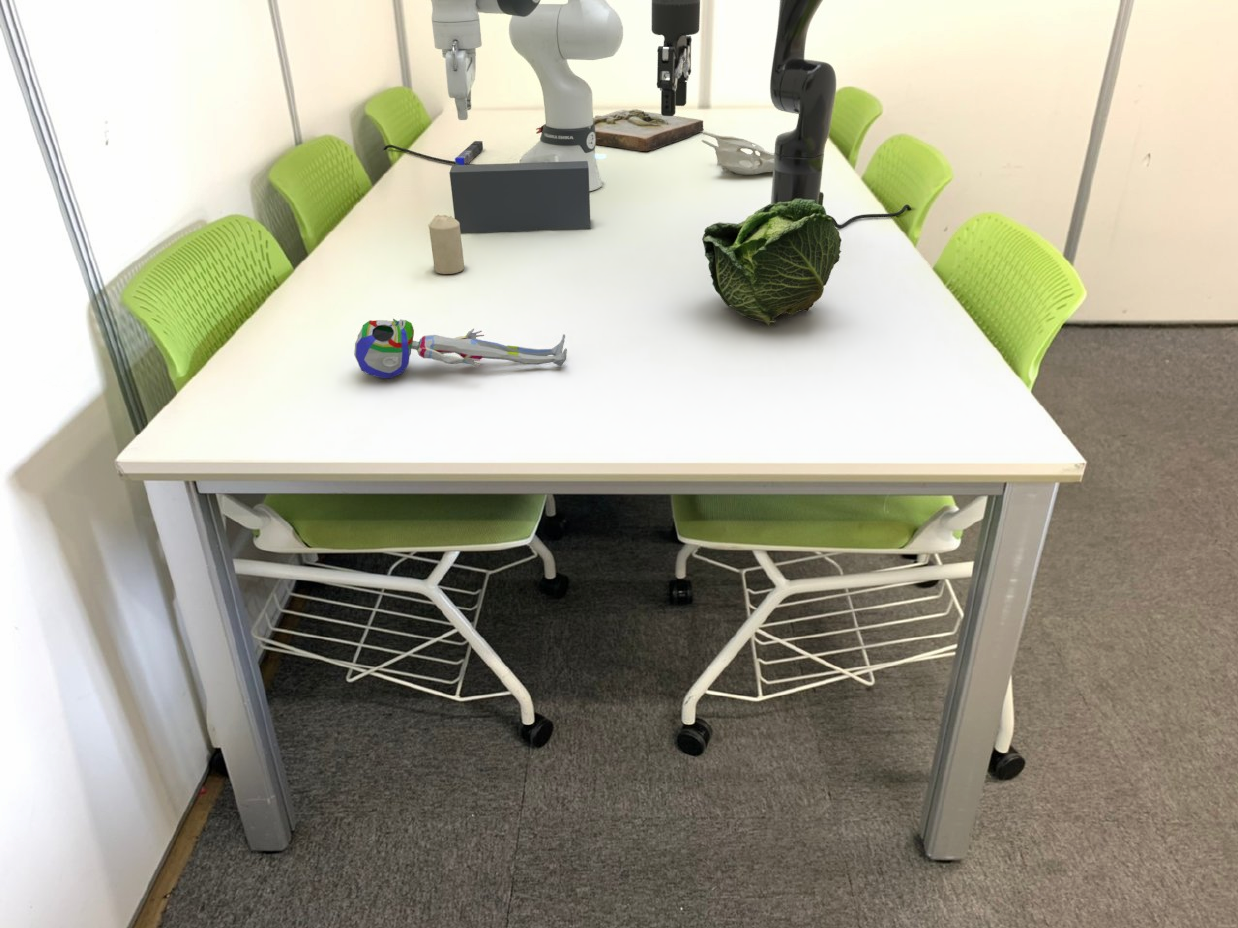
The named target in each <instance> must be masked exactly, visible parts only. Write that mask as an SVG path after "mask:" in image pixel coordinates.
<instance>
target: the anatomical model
mask: <svg viewBox="0 0 1238 928" xmlns="http://www.w3.org/2000/svg"><path fill="white" fill-rule="evenodd" d="M702 135H704V136H708V137H711V138H714V139H715V140H716V142H717V145H715V144H713V143H712V142H709V141H708V140H705V139H701V142H702V143H703V144H706V145H708V146H709V147H711V148H713V149H714V152H715V155H716V160H717V164H716V165H717V166H721V167H722V170H724V171H727V172H729V171H730V172H733V173H735V174H736V175H744V176H747V175H750V176H751V175H752V176H753V175H759V174H763V173H773V165H774V152H770V151H766V149H764V148H763V147H762V146H761V145H759V144H757V143H755V142H752V141H749V140H748V139H744V138H739V137H736V136H730V135H729V136H727V135H726V136H725V135H719V134H715V133H711V132H707V131H702ZM743 149H747V150H751V151H752V152H751V153H748V152H747V153H746V152H745V151H743ZM756 152H758V153H759V155H758V154H756Z"/></svg>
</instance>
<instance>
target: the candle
mask: <svg viewBox="0 0 1238 928" xmlns="http://www.w3.org/2000/svg"><path fill="white" fill-rule="evenodd" d="M428 230H429V231H428V232H429V237H430V247H431V252H432V262H433V269H434V271H435V272H436V273H438V274H442V275H451V274H457V273H460V272H462V271H463V270H464V269H465V260H464V253H463V252H464V251H463V243H462V233H460V224H459V222H458V221H457V220H456V219H455V217H454V216H451V215H450V216H449V215H444V214H436V215H435V216H434V217H433V218H432V220H431V221H430V222H429V224H428Z"/></svg>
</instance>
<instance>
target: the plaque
mask: <svg viewBox="0 0 1238 928" xmlns="http://www.w3.org/2000/svg"><path fill="white" fill-rule="evenodd" d="M593 123H594V124H595V133H596V144H595V145H597V146H598V145H599V146H607V147H612V148H620V149H625V150H632V151H640V152H648V151H654V150H656V149H659V148H662V147H663V146H664V147H665V146H667V145H670V144H672V143H676V142H680V141H682V140H684V139H687V138H691V137H692V136H694V135H696V134H698V133H700V132H705V131H704V130H705V129H704V120H702V119H698V118H693V117H685V116H679V115H673V116H663V115H662V114H661V113H659V112H650V111H644V110H642V109H637V108H636V109H635V108H634V109H630V110H629V109H620V110H616V111H613V112H610V113H608V114H602V115H594V117H593Z"/></svg>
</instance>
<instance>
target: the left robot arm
mask: <svg viewBox="0 0 1238 928" xmlns="http://www.w3.org/2000/svg"><path fill="white" fill-rule="evenodd" d="M430 1H431V7H432V10H431V11H432V12H431V26H432V35H433V36H432V37H433V43H434V48H435V49H438V50H441V56H442V58H444V59H445V60H444V63H445V74H446V85H447V86H446V87H447V94H448V97H449V98H450V99H454V104H455V108H456V112H457V119H458V120H459V121H467V120H468V117H469V114H468V111H471V109H472V107H473V106H472V88H473V85H474V83H475V80H476V72H477V71H476V68H477V67H476V63H477V61H476V59H477V58H476V57H477V52H476V50H477V48H480V47H482V45H483V44H482V33H481V23H480V15H479V13H481V14H495V15H497V14H500V15H508V16H511V18H510V21H509V25H508V36H509V40H510V44H511V46H512V47H513V49H514V50H515V51H516V53H517V54H518V55H520V56H521V57H522V58H523V59H524V60H525V61H526V62H527V63H528V64H529V66H530V67H531V68H532V70H533V71H534V73H535V75H536V77H537V80H538V81H539V84H540V88H541V91H542V98H543V107H544V118H545V119H544V120H545V121H544V122H545V123H544V124H543V125H541V126H540V127H537V128H535V130H536V132H535V133H536V134H540V138H539V141H538V142H536V143H535V144H534V145H533V146H532V147H530V149H529V150H527V151H526V152H525V153H524V154H523V155H522V156H521V157H520V158H519V163H540V162H571V161H588V167H589V192H592V191H595V190H598V189H600V188H601V187H602V186H603V183H602V180H601V178H600V177H601V176H600V173H599V168H598V163H597V159H600V160H601V159H602V160H604V159H606V154H600V153H596V145H597V144H596V133H595V124H594V123H593V118H594V102H593V101H594V100H593V99H594V98H593V90H592V88H591V86H590V85H589V83H588V82H587V81H586V80H585V79H583V78H582V77H580V76H579V75H576V74H575V73H574V72H573V70H572V69H571V68H570V65H569V62H568V60H575V61H577V60H578V61H596V60H597V61H598V60H601V59H607V58H611V57H614V56H615V55H616V54H617V52H618V51H619V49H620V48H621V46H622V43H623V39H624V25H623V22H622V18H621V17H620V15H619V14H618V12H617V11H616V10H615V9H614V8H613V7H612V6H611V5H610V4H609V2H607V0H567V3H540V2H541V0H430ZM388 149H395V150H398V151H401V152H405V153H409V154H411V155H414V156H417V157H421V158H424V159H428V160H432V161H436V162H440V163H445V164H450V165H455V160H449V159H443V158H438V157H436V156H430V155H426V154H424V153H420V152H416V151H413V150H410V149H407V148H404V147H403V148H402V147H401V146H396V145H393V144H387V145H385V146H384V147H383V149H382V150H383V151H387V150H388ZM465 165H476V163H465Z"/></svg>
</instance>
